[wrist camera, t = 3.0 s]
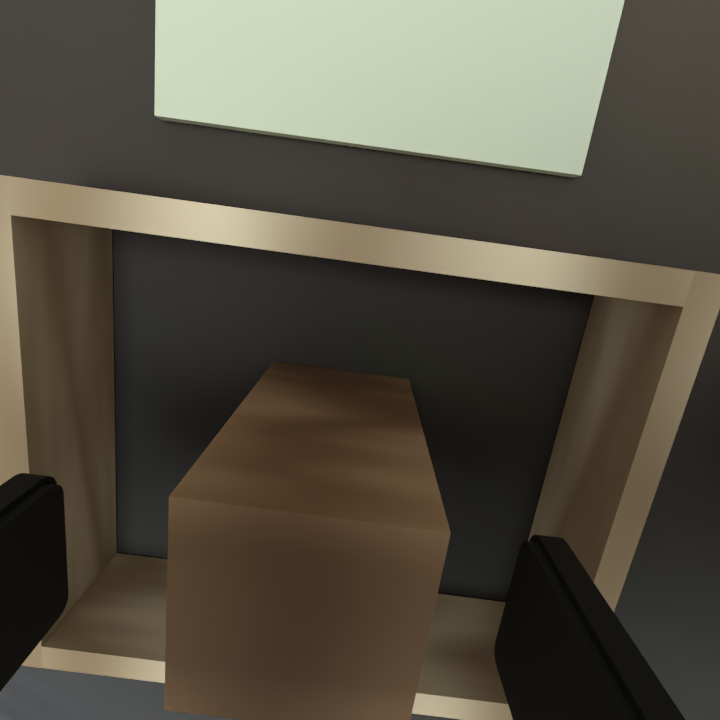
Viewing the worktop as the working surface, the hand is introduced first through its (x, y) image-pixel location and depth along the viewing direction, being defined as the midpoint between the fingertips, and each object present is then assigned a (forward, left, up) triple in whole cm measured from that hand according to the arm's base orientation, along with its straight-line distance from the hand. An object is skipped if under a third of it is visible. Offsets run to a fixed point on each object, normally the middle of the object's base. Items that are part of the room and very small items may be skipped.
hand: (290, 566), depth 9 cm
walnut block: (0, 0, -7) cm, 7 cm away
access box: (0, 0, -7) cm, 7 cm away
